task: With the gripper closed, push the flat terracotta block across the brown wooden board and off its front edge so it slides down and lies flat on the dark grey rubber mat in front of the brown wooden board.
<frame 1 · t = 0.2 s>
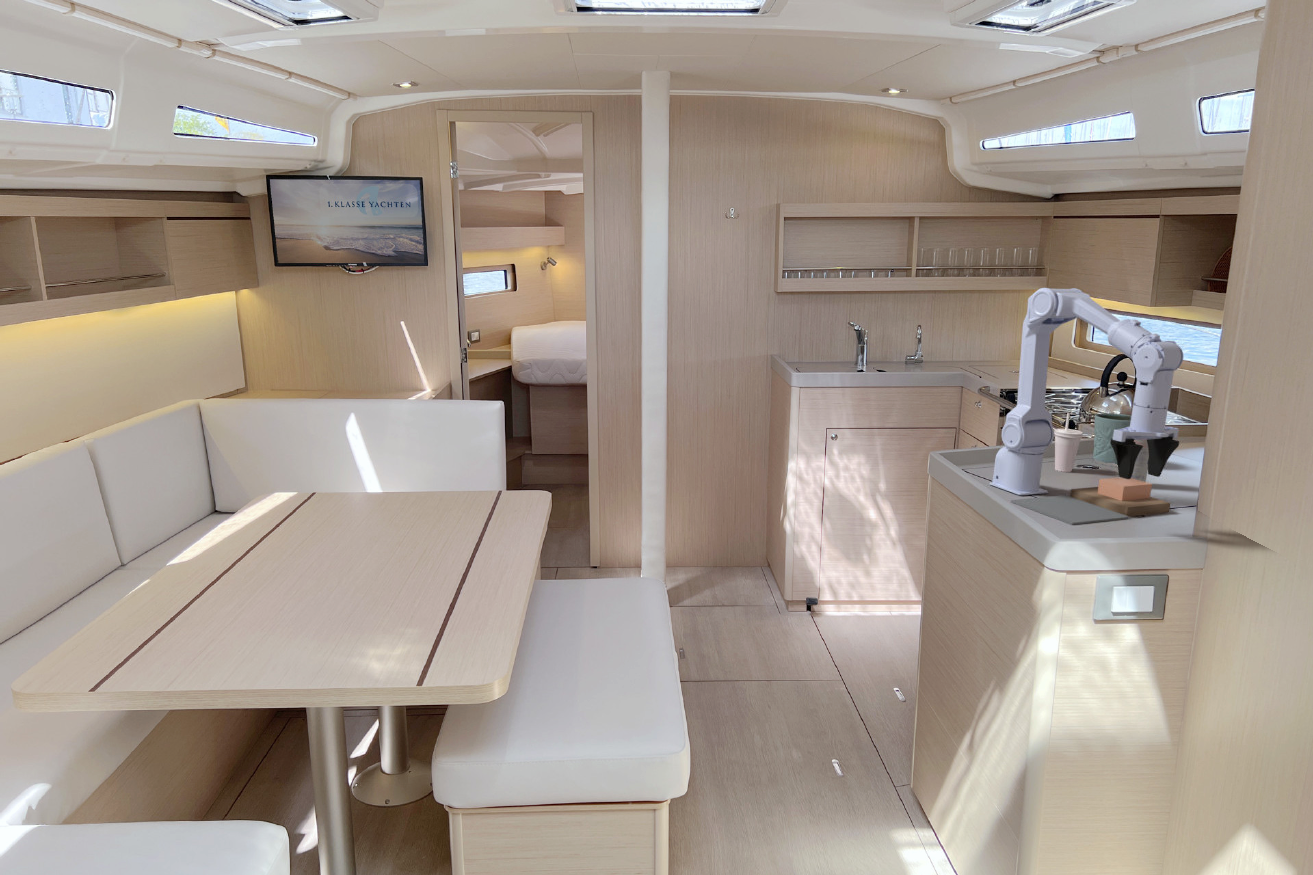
hand: (1139, 476, 168), 10 cm above the table, tool pointing down, fingers open, 7 cm apart
block: (1123, 495, 185), point 2 cm above the table, touching brown wooden board
green plant pot: (1110, 463, 224), on the table
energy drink: (1131, 485, 203), on the table
brown wooden board: (1118, 505, 185), on the table
smoothie: (1063, 471, 214), on the table
mat: (1068, 510, 180), on the table
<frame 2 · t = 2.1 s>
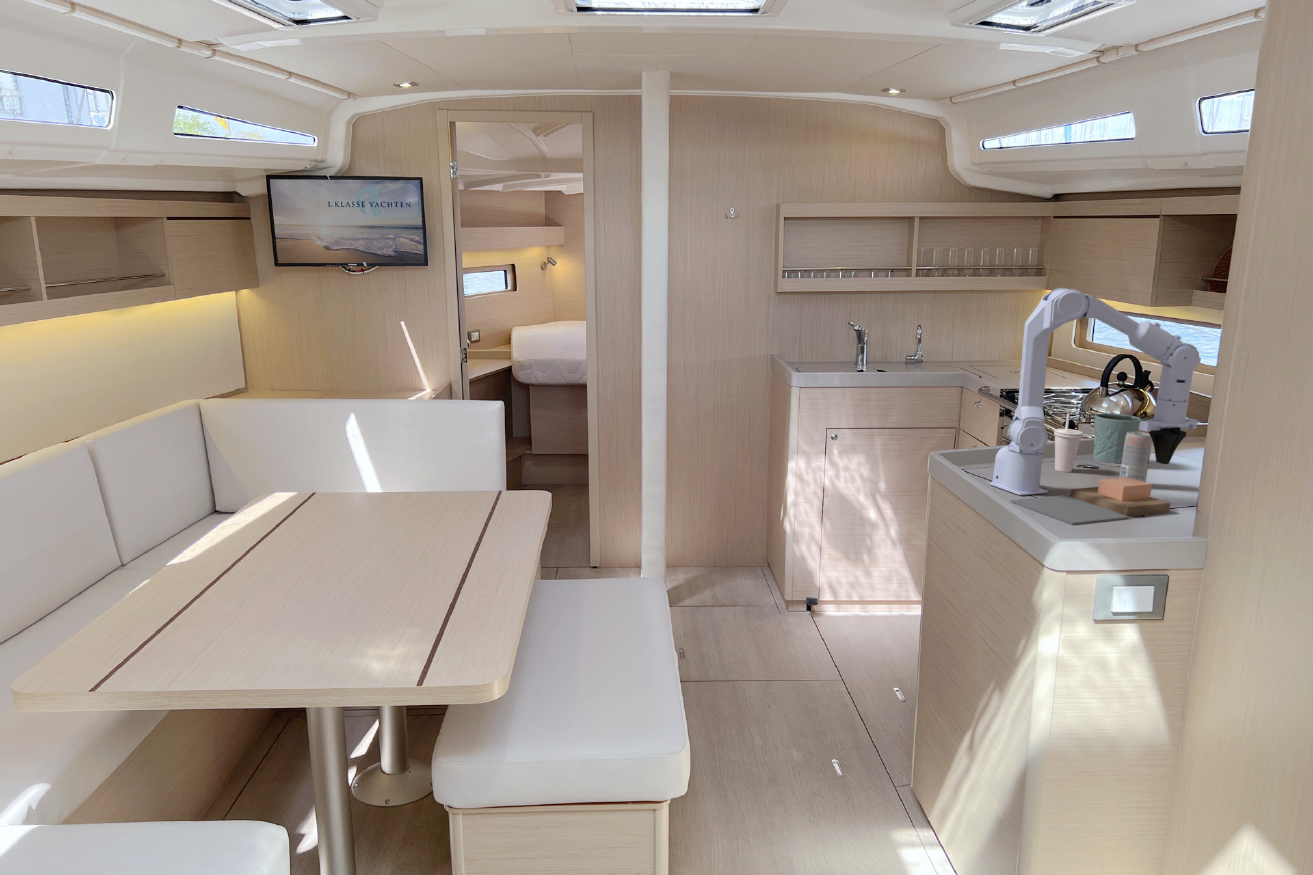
hand: (1162, 463, 187), 8 cm above the table, tool pointing down, fingers closed
nothing on the table moved.
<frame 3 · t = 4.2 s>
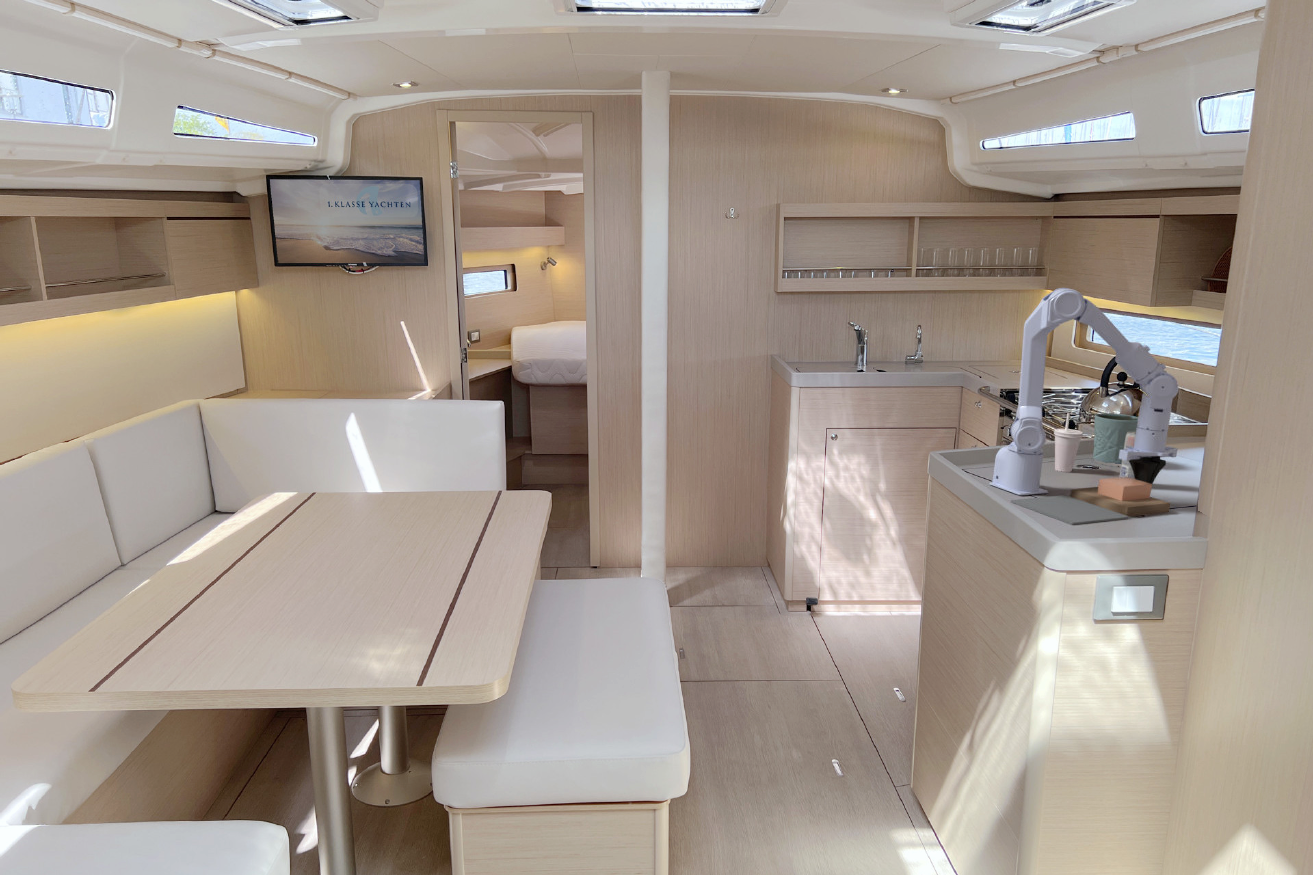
hand: (1142, 491, 187), 2 cm above the table, tool pointing down, fingers closed
block: (1123, 495, 185), point 2 cm above the table, touching brown wooden board, gripper
everything else where it was.
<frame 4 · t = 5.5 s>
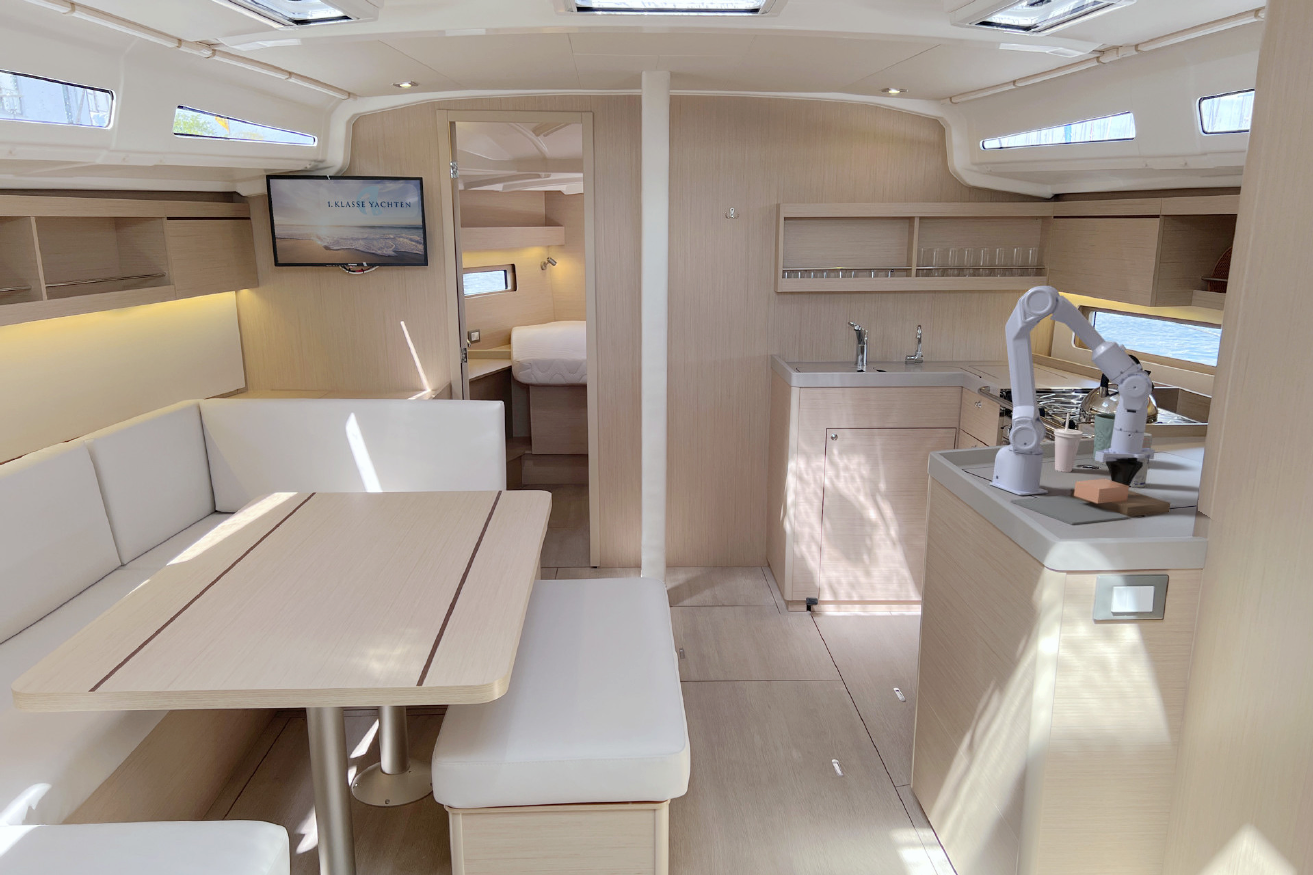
hand: (1119, 493, 184), 2 cm above the table, tool pointing down, fingers closed
block: (1100, 497, 182), point 2 cm above the table, touching gripper
everything else where it was.
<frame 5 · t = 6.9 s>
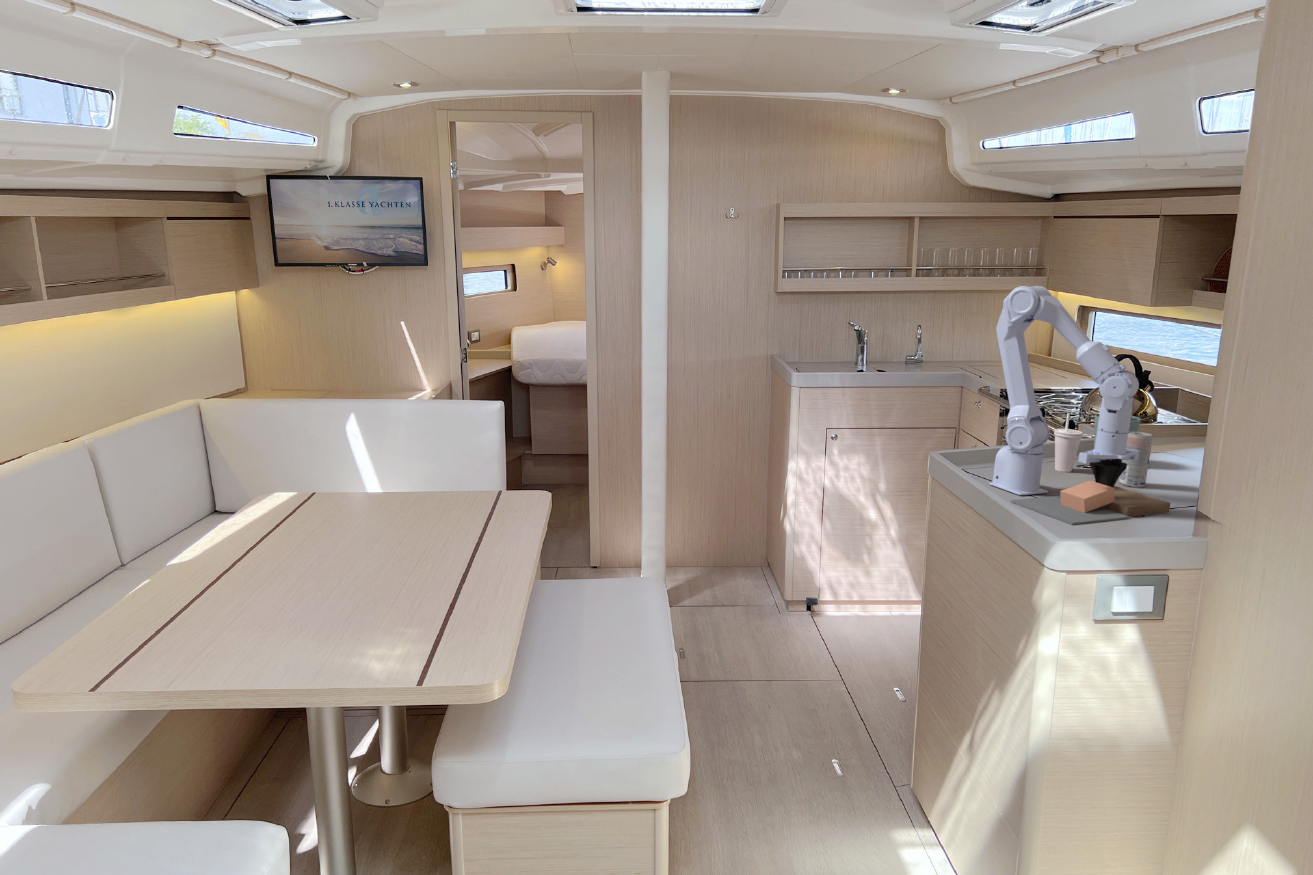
hand: (1103, 495, 183), 2 cm above the table, tool pointing down, fingers closed
block: (1087, 503, 181), point 1 cm above the table, tilted 12°, touching gripper
everything else where it was.
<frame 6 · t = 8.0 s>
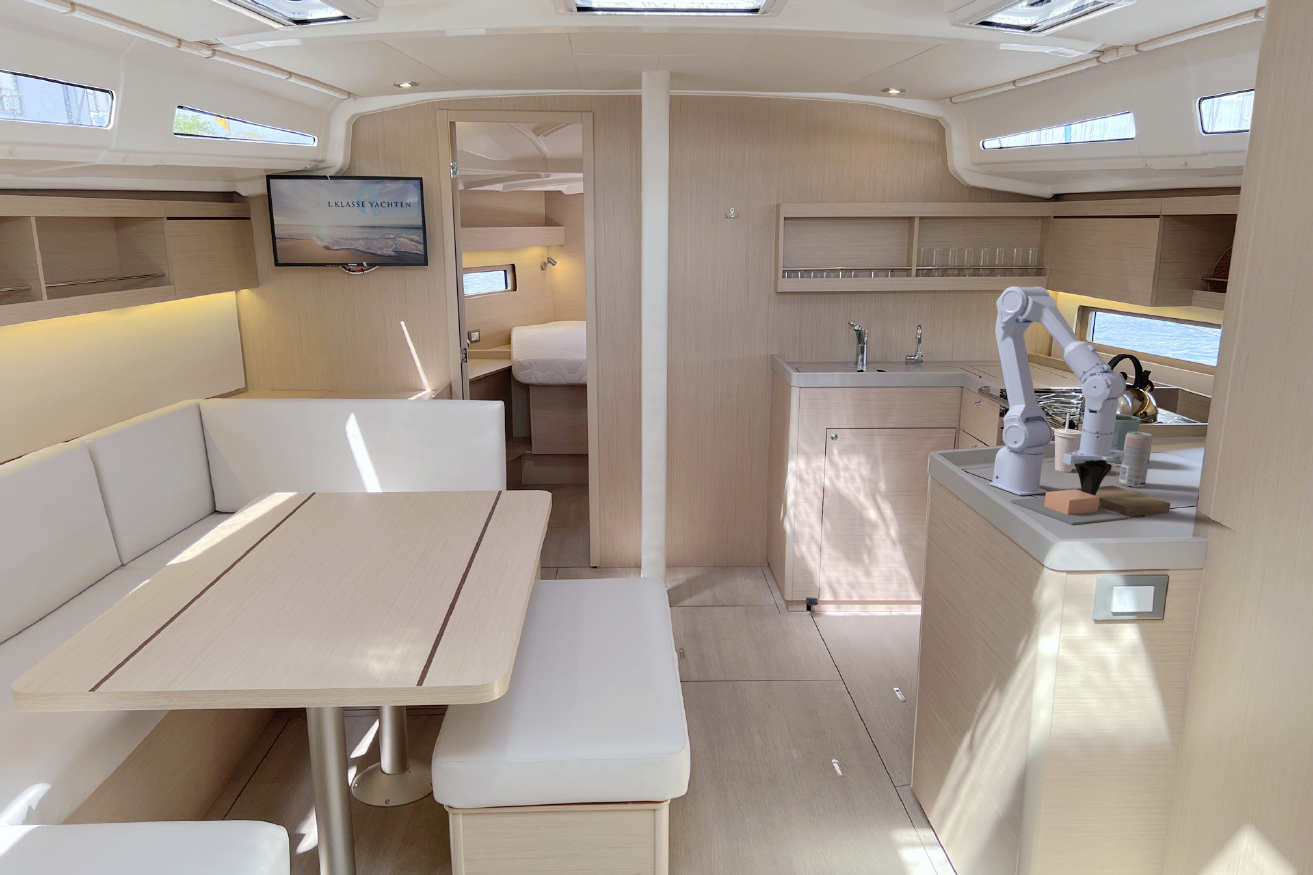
hand: (1088, 496, 181), 3 cm above the table, tool pointing down, fingers closed
block: (1070, 508, 179), resting on mat, touching gripper
everything else where it was.
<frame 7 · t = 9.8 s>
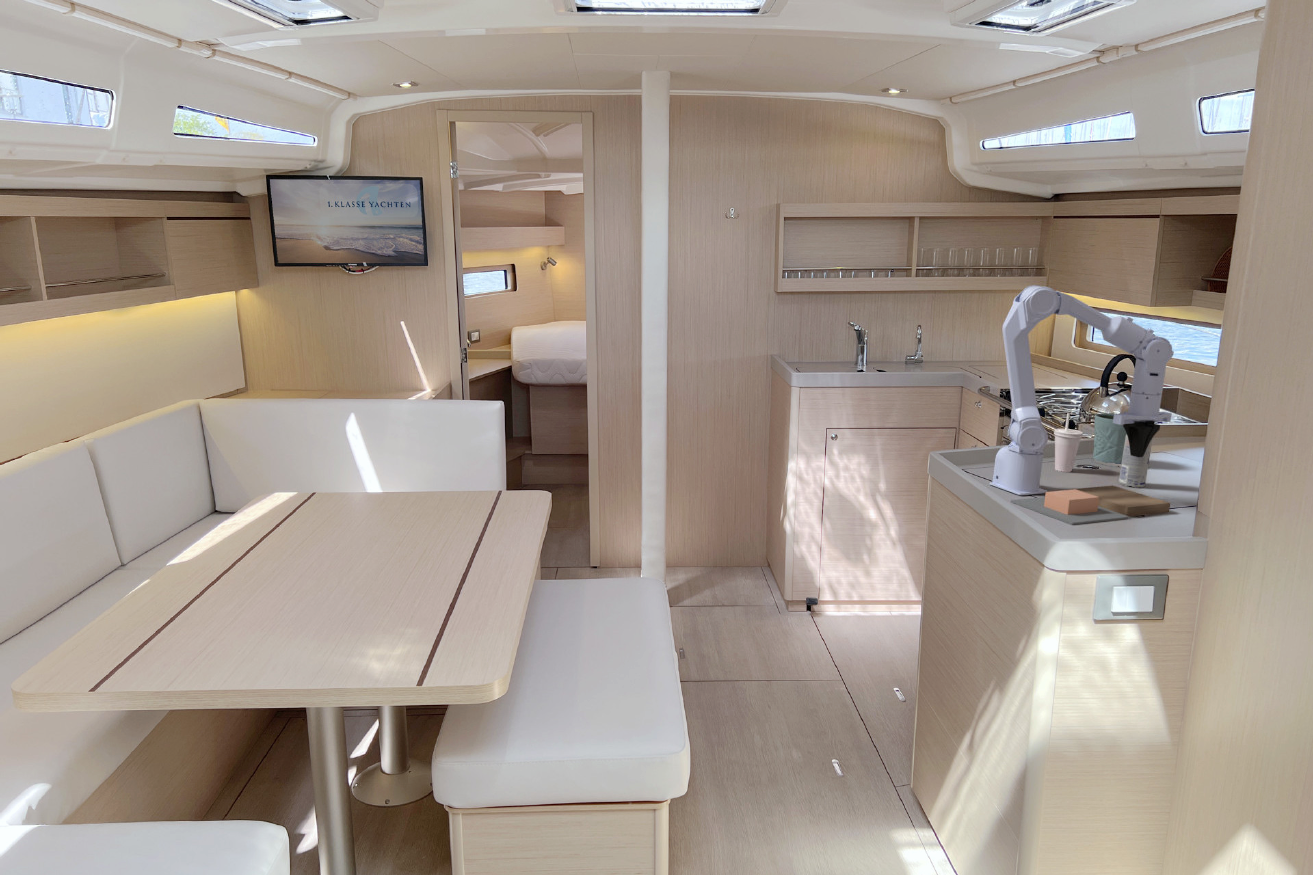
hand: (1136, 456, 188), 9 cm above the table, tool pointing down, fingers closed
block: (1070, 508, 179), resting on mat
everything else where it was.
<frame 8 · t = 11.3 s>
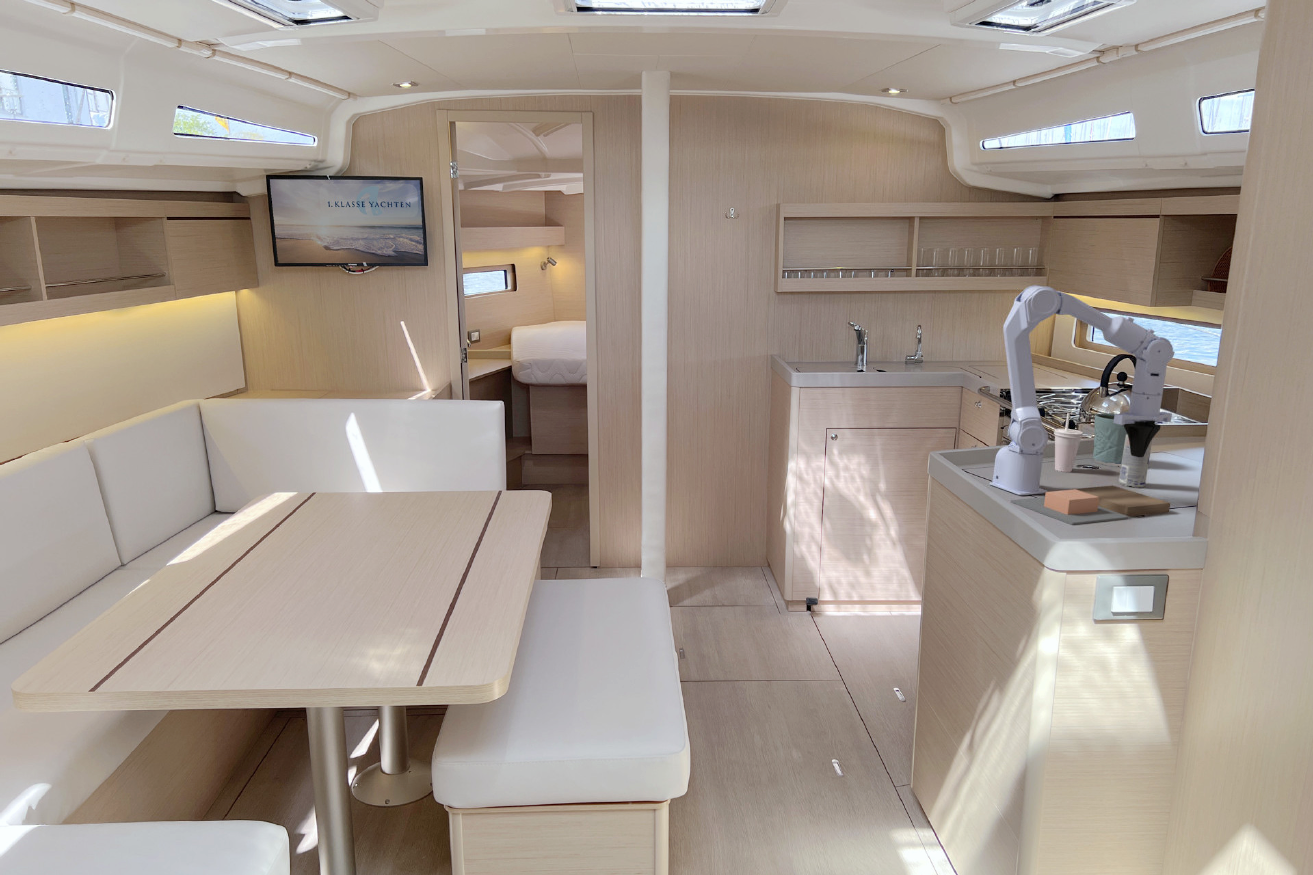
hand: (1137, 456, 188), 9 cm above the table, tool pointing down, fingers closed
nothing on the table moved.
at the end: block inside the target area (0.4 cm from its centre), resting on mat; block touching mat; block tilted 0° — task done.
